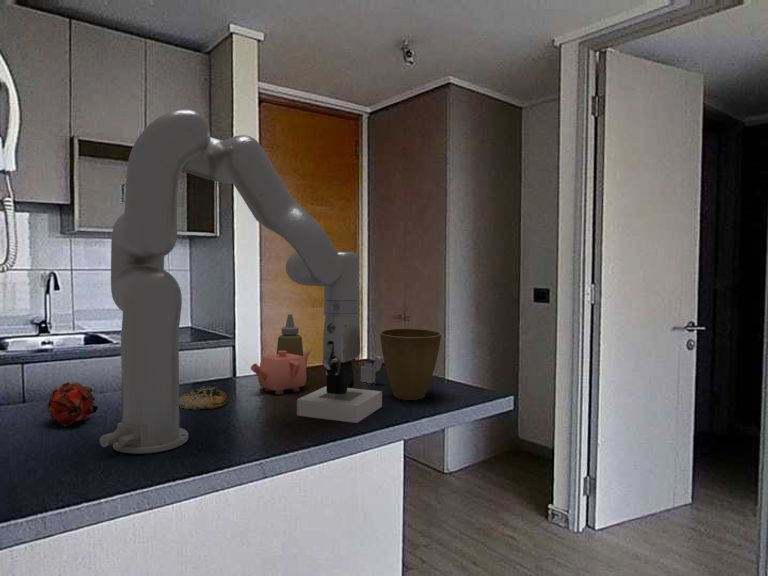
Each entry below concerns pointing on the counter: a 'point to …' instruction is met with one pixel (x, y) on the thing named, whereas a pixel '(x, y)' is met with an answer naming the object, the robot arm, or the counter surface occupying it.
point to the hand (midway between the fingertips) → (340, 389)
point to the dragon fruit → (71, 403)
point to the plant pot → (410, 360)
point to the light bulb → (344, 379)
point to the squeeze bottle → (290, 339)
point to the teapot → (282, 371)
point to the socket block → (340, 405)
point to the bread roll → (203, 398)
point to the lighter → (371, 370)
